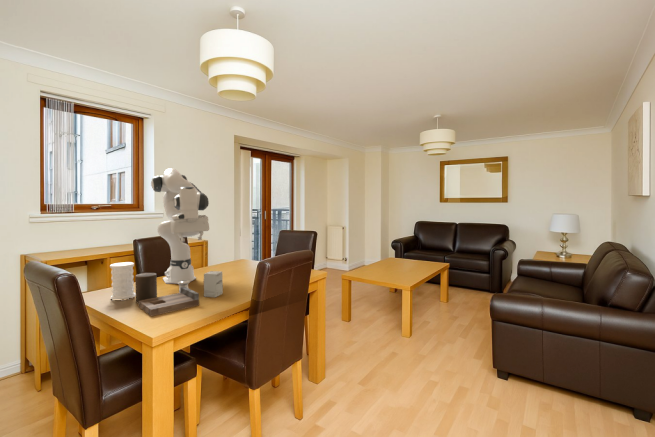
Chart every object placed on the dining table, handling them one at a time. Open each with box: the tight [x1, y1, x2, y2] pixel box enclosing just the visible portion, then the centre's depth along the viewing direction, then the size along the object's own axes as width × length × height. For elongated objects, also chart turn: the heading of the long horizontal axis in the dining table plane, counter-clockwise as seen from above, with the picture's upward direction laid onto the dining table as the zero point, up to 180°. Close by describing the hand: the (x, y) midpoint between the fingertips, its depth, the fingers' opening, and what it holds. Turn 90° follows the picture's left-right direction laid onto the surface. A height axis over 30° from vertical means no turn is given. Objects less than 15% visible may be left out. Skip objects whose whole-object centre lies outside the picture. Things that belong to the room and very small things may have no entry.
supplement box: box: [203, 270, 224, 298], centre depth 182 cm, size 7×7×13 cm
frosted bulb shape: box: [177, 280, 191, 293], centre depth 180 cm, size 6×6×8 cm
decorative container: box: [109, 261, 136, 300], centre depth 177 cm, size 12×12×18 cm
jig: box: [138, 287, 200, 317], centre depth 163 cm, size 18×22×6 cm
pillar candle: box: [134, 271, 158, 304], centre depth 172 cm, size 10×10×15 cm
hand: (191, 240), depth 183 cm, fingers open, 8 cm apart
